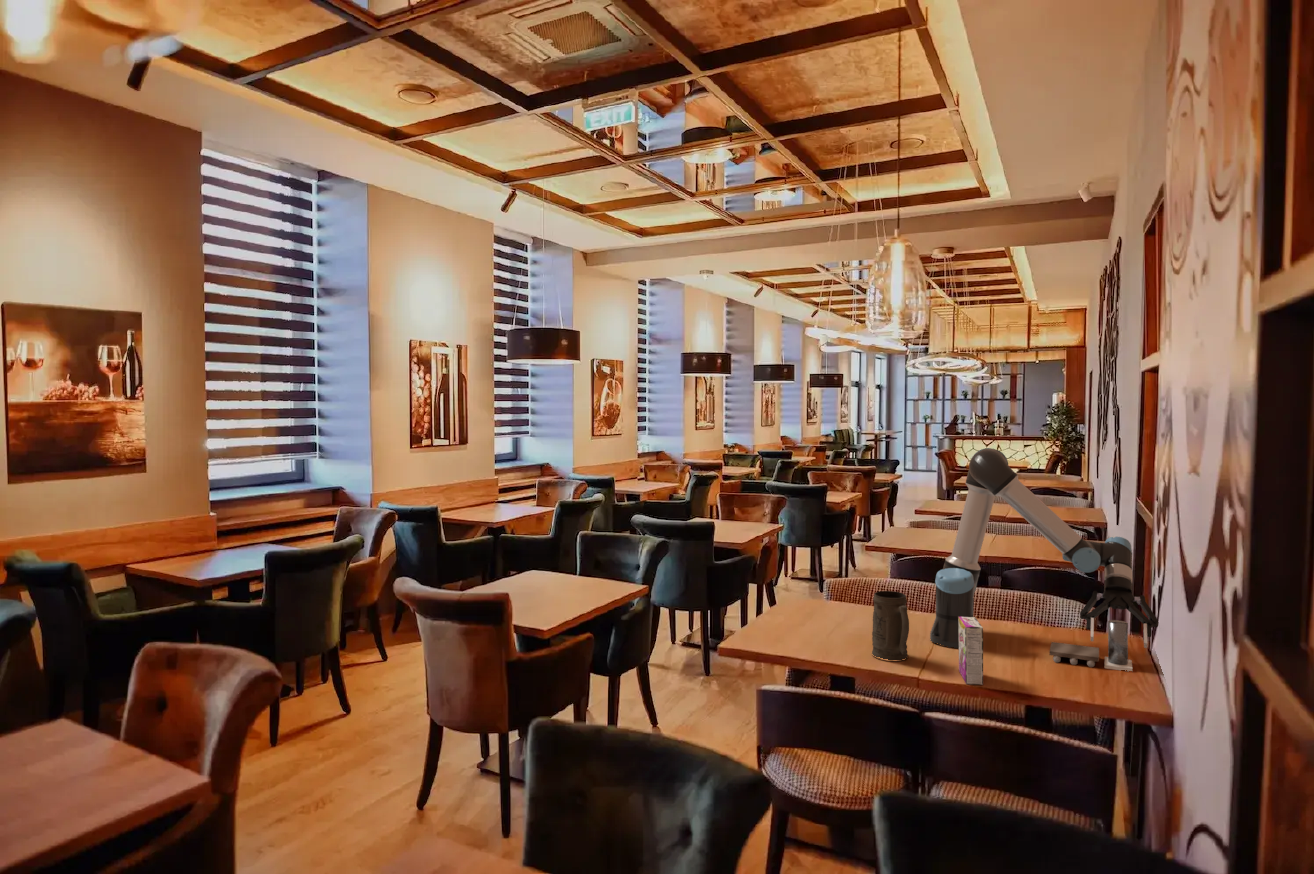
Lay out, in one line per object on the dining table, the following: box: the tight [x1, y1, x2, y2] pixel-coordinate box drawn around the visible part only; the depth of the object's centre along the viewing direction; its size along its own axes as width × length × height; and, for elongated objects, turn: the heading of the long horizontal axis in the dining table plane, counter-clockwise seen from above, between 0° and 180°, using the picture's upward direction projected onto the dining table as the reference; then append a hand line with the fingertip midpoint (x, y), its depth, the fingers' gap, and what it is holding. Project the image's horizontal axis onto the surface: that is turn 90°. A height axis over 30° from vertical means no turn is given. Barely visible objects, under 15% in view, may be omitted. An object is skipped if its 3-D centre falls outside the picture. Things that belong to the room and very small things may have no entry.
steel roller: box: [1107, 619, 1129, 665], centre depth 230 cm, size 5×5×12 cm
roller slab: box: [1048, 641, 1100, 668], centre depth 236 cm, size 13×11×3 cm
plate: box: [1104, 656, 1133, 672], centre depth 230 cm, size 7×9×1 cm
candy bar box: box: [958, 616, 984, 686], centre depth 220 cm, size 11×5×16 cm, turn 168°
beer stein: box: [871, 590, 910, 660], centre depth 238 cm, size 15×11×20 cm
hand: (1118, 642), depth 228 cm, fingers open, 13 cm apart
